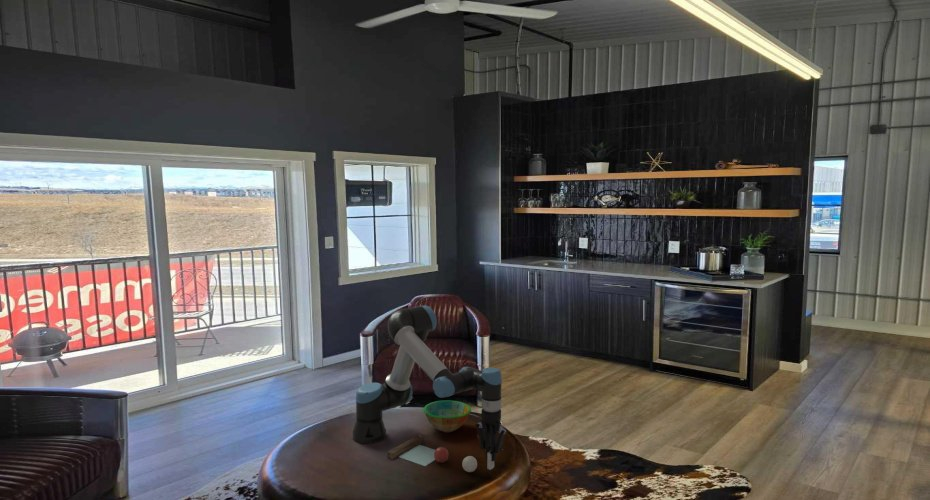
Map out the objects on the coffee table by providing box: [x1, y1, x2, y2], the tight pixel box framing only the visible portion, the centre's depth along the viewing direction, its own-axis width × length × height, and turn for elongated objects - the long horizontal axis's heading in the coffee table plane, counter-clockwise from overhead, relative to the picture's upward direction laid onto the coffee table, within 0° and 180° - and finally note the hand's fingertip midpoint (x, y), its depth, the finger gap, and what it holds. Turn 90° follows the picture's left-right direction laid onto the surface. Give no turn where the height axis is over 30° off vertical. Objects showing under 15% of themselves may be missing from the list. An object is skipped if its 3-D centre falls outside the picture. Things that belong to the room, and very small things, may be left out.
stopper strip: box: [386, 435, 423, 460], centre depth 243 cm, size 2×20×2 cm, turn 146°
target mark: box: [398, 444, 436, 467], centre depth 238 cm, size 14×14×1 cm
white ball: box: [461, 455, 478, 473], centre depth 224 cm, size 6×6×6 cm
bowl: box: [422, 399, 472, 433], centre depth 264 cm, size 22×22×10 cm
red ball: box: [434, 446, 449, 464], centre depth 232 cm, size 6×6×6 cm
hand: (490, 467), depth 219 cm, fingers closed
